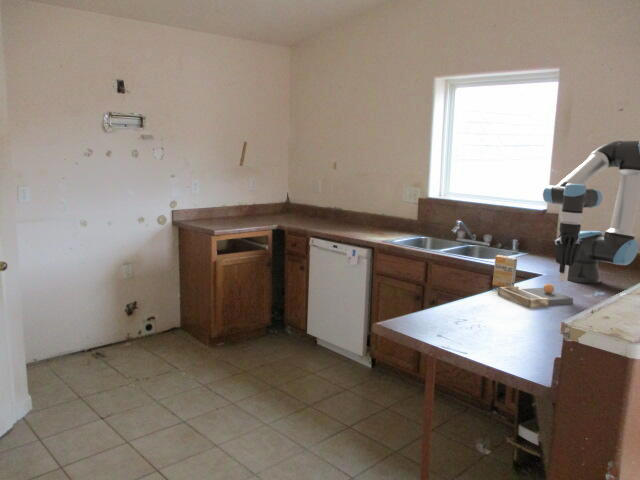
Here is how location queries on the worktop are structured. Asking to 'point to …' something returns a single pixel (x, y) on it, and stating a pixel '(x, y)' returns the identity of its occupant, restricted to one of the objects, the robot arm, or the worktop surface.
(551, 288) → the ball
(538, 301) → the wooden tray frame
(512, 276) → the supplement box
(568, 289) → the worktop surface
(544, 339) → the worktop surface
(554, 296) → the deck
